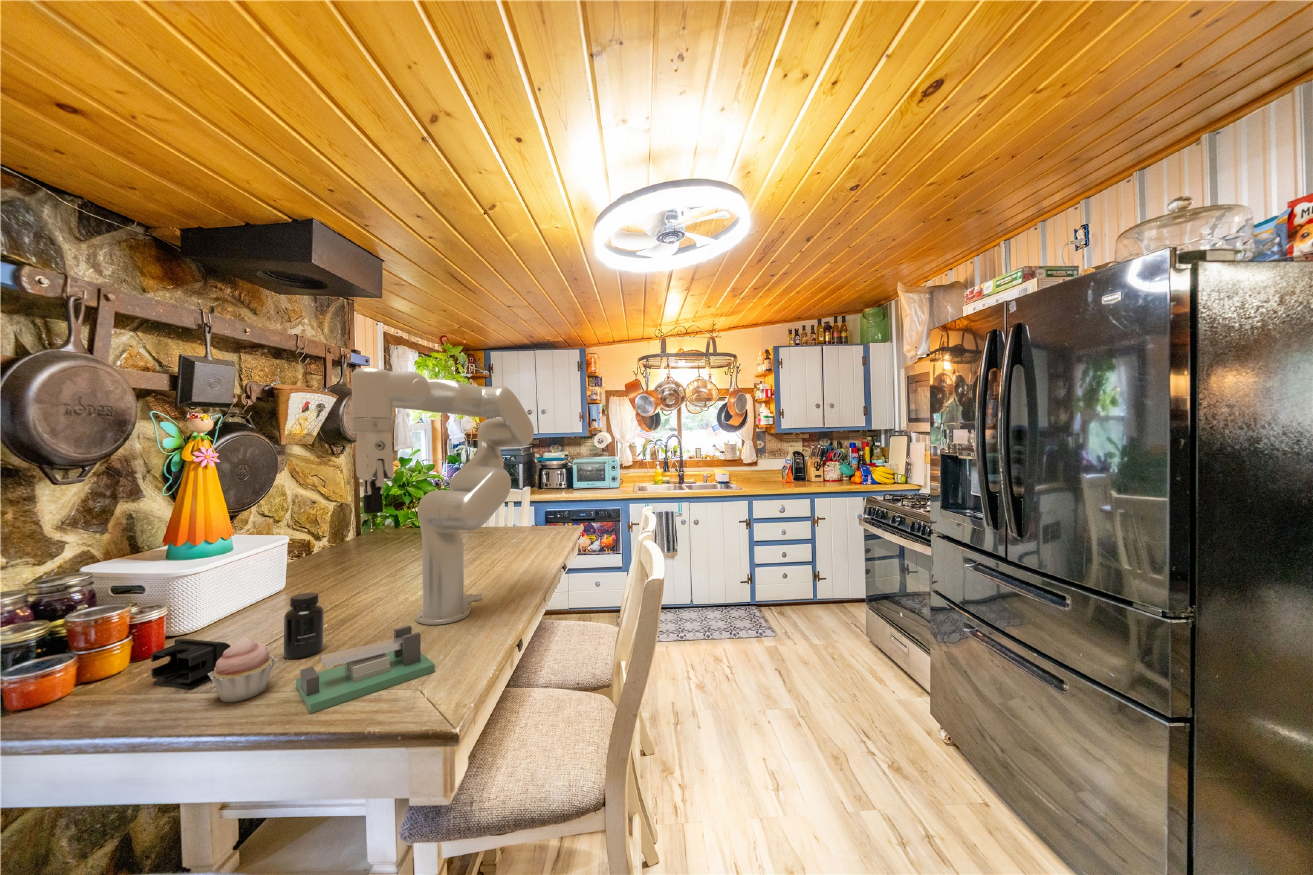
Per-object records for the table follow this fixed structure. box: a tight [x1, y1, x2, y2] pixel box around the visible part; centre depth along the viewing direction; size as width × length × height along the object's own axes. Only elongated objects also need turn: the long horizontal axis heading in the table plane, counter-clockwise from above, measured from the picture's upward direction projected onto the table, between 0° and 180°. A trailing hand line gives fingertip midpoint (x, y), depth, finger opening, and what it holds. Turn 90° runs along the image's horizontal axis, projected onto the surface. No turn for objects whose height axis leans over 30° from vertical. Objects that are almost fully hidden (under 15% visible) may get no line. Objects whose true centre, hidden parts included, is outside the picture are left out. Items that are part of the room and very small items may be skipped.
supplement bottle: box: [283, 591, 325, 660], centre depth 104 cm, size 7×7×12 cm
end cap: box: [150, 637, 232, 691], centre depth 93 cm, size 10×7×7 cm
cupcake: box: [208, 636, 278, 703], centre depth 88 cm, size 9×9×10 cm
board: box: [295, 625, 436, 714], centre depth 93 cm, size 20×12×7 cm, turn 135°
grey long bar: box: [320, 635, 405, 669], centre depth 93 cm, size 15×3×2 cm, turn 135°
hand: (373, 512), depth 106 cm, fingers closed
